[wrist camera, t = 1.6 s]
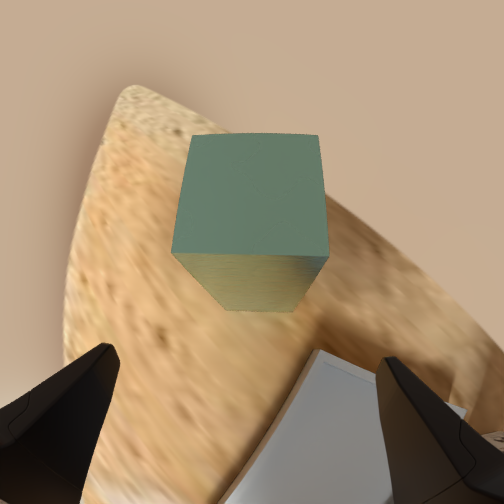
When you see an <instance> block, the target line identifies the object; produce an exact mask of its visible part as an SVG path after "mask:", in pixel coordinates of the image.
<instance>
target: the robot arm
mask: <svg viewBox="0 0 504 504" xmlns="http://www.w3.org/2000/svg"><path fill="white" fill-rule="evenodd" d="M119 368H120V360H119V357H118V355H117V352H116V350H115V348H114V346H113V345H112V344H109V343H101V344H99V345H98V346H96V347H94V348H93V349H91V350H90V351H88V352H87V353H85V354H84V355H82V356H81V357H79V358H78V359H76V360H75V361H73V362H72V363H70V364H69V365H67V366H66V367H64V368H63V369H62V370H60V371H58V372H57V373H55V374H54V375H52V376H51V377H49V378H48V379H46V380H45V381H43V382H42V383H41V384H39V385H38V386H36V387H35V388H33V389H32V390H31V391H28V392H27V393H26V394H24V395H23V396H21V397H19V398H18V399H16V400H15V401H13V402H11V403H10V404H8V405H6V406H4V407H2V408H1V409H0V504H80V500H81V496H82V491H83V487H84V484H85V480H86V477H87V473H88V470H89V466H90V463H91V460H92V456H93V453H94V450H95V447H96V444H97V440H98V437H99V434H100V431H101V428H102V425H103V423H104V420H105V417H106V414H107V411H108V408H109V405H110V402H111V399H112V395H113V391H114V387H115V383H116V379H117V376H118V372H119ZM375 381H376V389H377V398H378V408H379V417H380V423H381V428H382V433H383V438H384V443H385V449H386V454H387V460H388V466H389V472H390V479H391V485H392V493H393V501H394V504H504V453H503V452H502V451H501V450H499V449H498V448H497V447H495V446H494V445H493V444H491V443H490V442H489V441H487V440H486V439H485V438H484V437H482V436H481V435H480V434H479V433H477V432H476V431H475V430H474V429H473V428H472V427H471V426H470V425H469V424H468V423H466V422H465V421H464V420H463V419H461V417H460V416H459V415H458V414H457V413H456V412H455V411H454V410H453V409H452V408H450V407H449V406H448V405H447V404H446V403H445V402H444V401H443V400H442V399H441V398H440V397H439V396H438V395H437V394H436V393H434V392H433V391H432V390H431V389H430V388H429V387H428V386H427V385H426V384H425V383H424V382H423V381H422V380H420V379H419V378H418V377H417V376H416V375H415V374H414V373H413V372H412V371H411V370H410V369H408V368H407V367H406V366H405V365H404V364H403V363H402V362H401V361H400V360H399V359H398V358H396V357H395V356H389V357H384V358H383V359H382V360H381V363H380V365H379V367H378V370H377V372H376V376H375Z"/></svg>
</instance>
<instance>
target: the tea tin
mask: <svg viewBox="0 0 504 504" xmlns="http://www.w3.org/2000/svg"><path fill="white" fill-rule="evenodd" d="M171 253H172V254H173V256H174V257H175V258H176V259H177V260H178V261H179V262H180V263H181V264H182V265H183V266H184V267H185V268H186V270H187V271H188V272H189V273H190V274H191V275H192V276H193V277H194V278H195V279H196V280H197V281H198V282H199V283H200V284H201V285H202V286H203V287H204V288H205V289H206V291H207V292H208V293H209V294H210V295H211V296H212V297H213V298H214V299H215V300H216V301H217V302H218V303H219V304H220V305H221V306H222V307H223V308H224V309H225V310H229V311H256V312H293V311H294V310H295V308H296V307H297V305H298V304H299V302H300V301H301V299H302V298H303V296H304V295H305V293H306V292H307V290H308V289H309V287H310V286H311V284H312V283H313V281H314V280H315V278H316V276H317V275H318V273H319V272H320V270H321V269H322V267H323V266H324V264H325V262H326V261H327V259H328V258H329V241H328V226H327V213H326V201H325V190H324V180H323V171H322V163H321V154H320V146H319V140H318V135H304V134H277V133H274V134H273V133H238V134H209V135H192V139H191V143H190V148H189V153H188V157H187V162H186V167H185V172H184V177H183V182H182V188H181V193H180V199H179V205H178V210H177V216H176V223H175V229H174V236H173V243H172V250H171Z"/></svg>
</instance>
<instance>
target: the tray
mask: <svg viewBox="0 0 504 504" xmlns="http://www.w3.org/2000/svg"><path fill="white" fill-rule="evenodd" d="M375 376H376V374H374V373H372V372H370V371H367V370H365V369H363V368H360V367H358V366H356V365H354V364H351V363H349V362H347V361H345V360H343V359H340V358H338V357H336V356H334V355H332V354H330V353H327V352H325V351H323V350H321V349H313V351H312V353H311V355H310V356H309V358H308V360H307V362H306V364H305V366H304V368H303V370H302V372H301V374H300V375H299V377H298V379H297V381H296V383H295V384H294V386H293V388H292V390H291V392H290V393H289V395H288V397H287V399H286V400H285V402H284V404H283V406H282V407H281V409H280V411H279V412H278V414H277V416H276V417H275V419H274V421H273V422H272V424H271V426H270V427H269V429H268V430H267V432H266V434H265V435H264V437H263V438H262V440H261V441H260V443H259V445H258V446H257V448H256V449H255V451H254V452H253V454H252V455H251V457H250V458H249V460H248V461H247V463H246V464H245V465H244V467H243V468H242V470H241V471H240V473H239V474H238V475H237V477H236V478H235V480H234V481H233V482H232V484H231V485H230V486H229V488H228V489H227V491H226V492H225V493H224V495H223V496H222V497H221V498H220V500H219V501H218V502H217V504H394V501H393V493H392V485H391V479H390V472H389V466H388V460H387V454H386V449H385V443H384V438H383V433H382V428H381V423H380V417H379V408H378V398H377V389H376V381H375ZM445 403H446V404H447V405H448V406H449V407H450V408H452V409H453V410H454V411H455V412H456V413H457V414H458V415H459V416H460V417H461V419H464V416H465V414H466V412H467V409H464V408H461V407H458V406H455V405H452V404H450V403H447V402H445Z"/></svg>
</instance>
